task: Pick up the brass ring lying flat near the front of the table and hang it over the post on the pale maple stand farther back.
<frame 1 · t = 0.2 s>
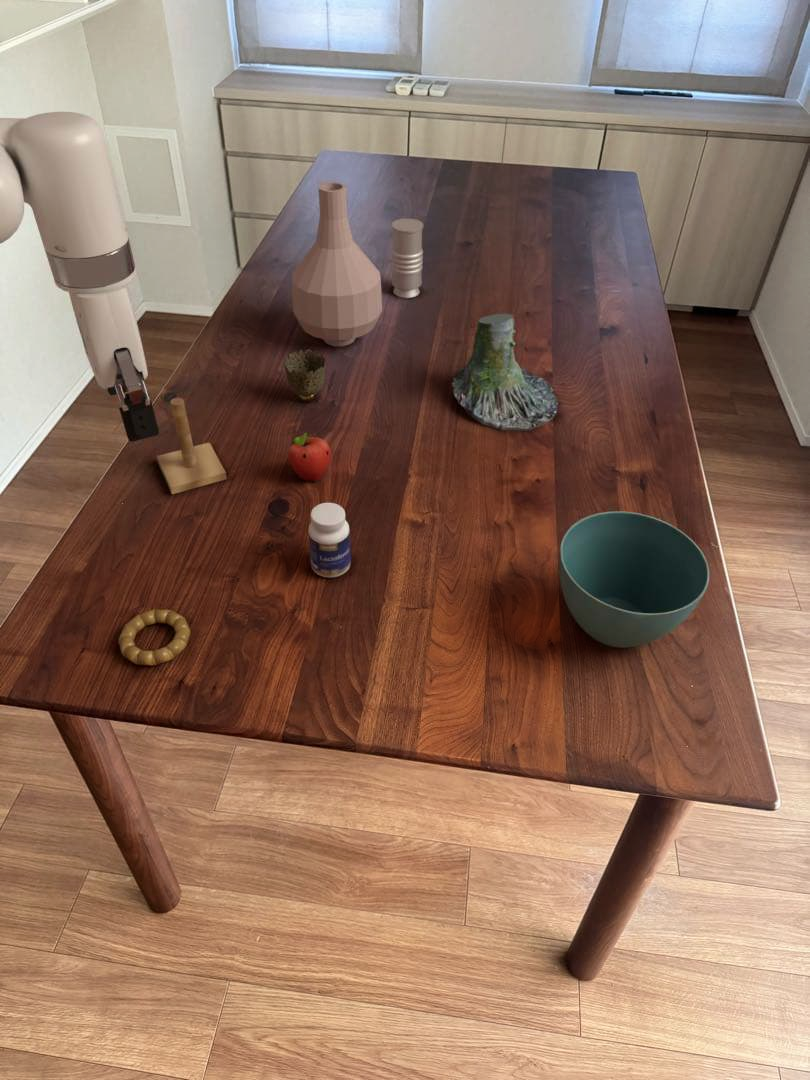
hand: (133, 413, 86), 31 cm above the table, tool pointing down, fingers open, 9 cm apart
tree stump: (501, 401, 146), on the table
post stand: (192, 471, 130), on the table
cup: (307, 399, 146), on the table
vase: (339, 339, 162), on the table
ribbed beige cylinder: (406, 292, 178), on the table
pill bottle: (331, 566, 114), on the table
ring: (154, 636, 103), point 1 cm above the table
apple: (311, 478, 129), on the table
teal bowl: (614, 624, 107), on the table
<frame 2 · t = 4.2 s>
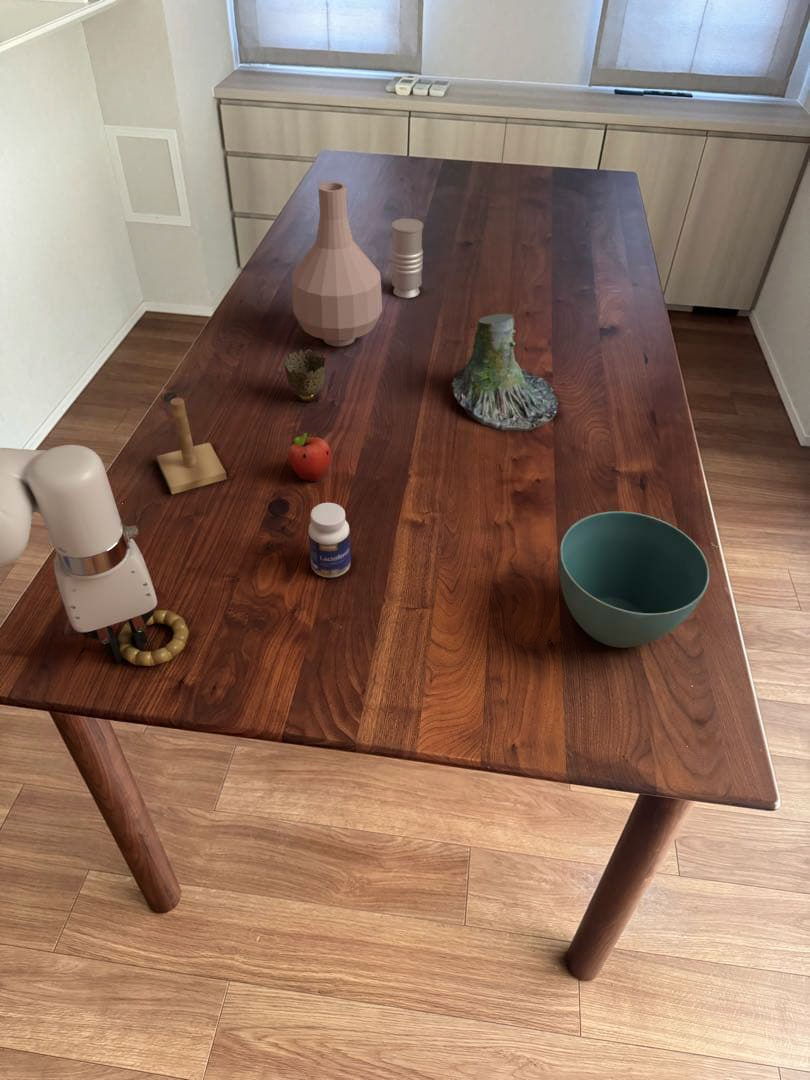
hand: (128, 649, 102), 0 cm above the table, tool pointing down, fingers closed on ring, 2 cm apart
ring: (153, 637, 103), point 1 cm above the table, touching gripper
everything else where it was.
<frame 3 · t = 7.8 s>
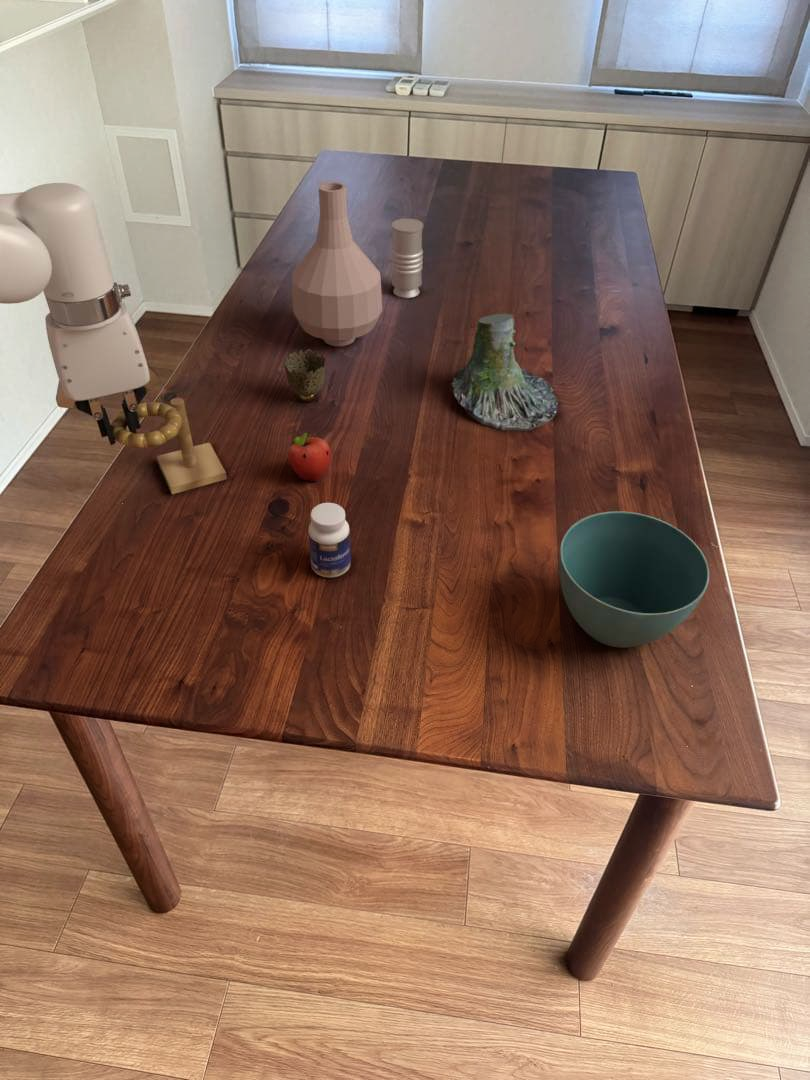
hand: (122, 435, 102), 20 cm above the table, tool pointing down, fingers closed on ring
ring: (146, 424, 103), point 21 cm above the table, touching gripper
everything else where it was.
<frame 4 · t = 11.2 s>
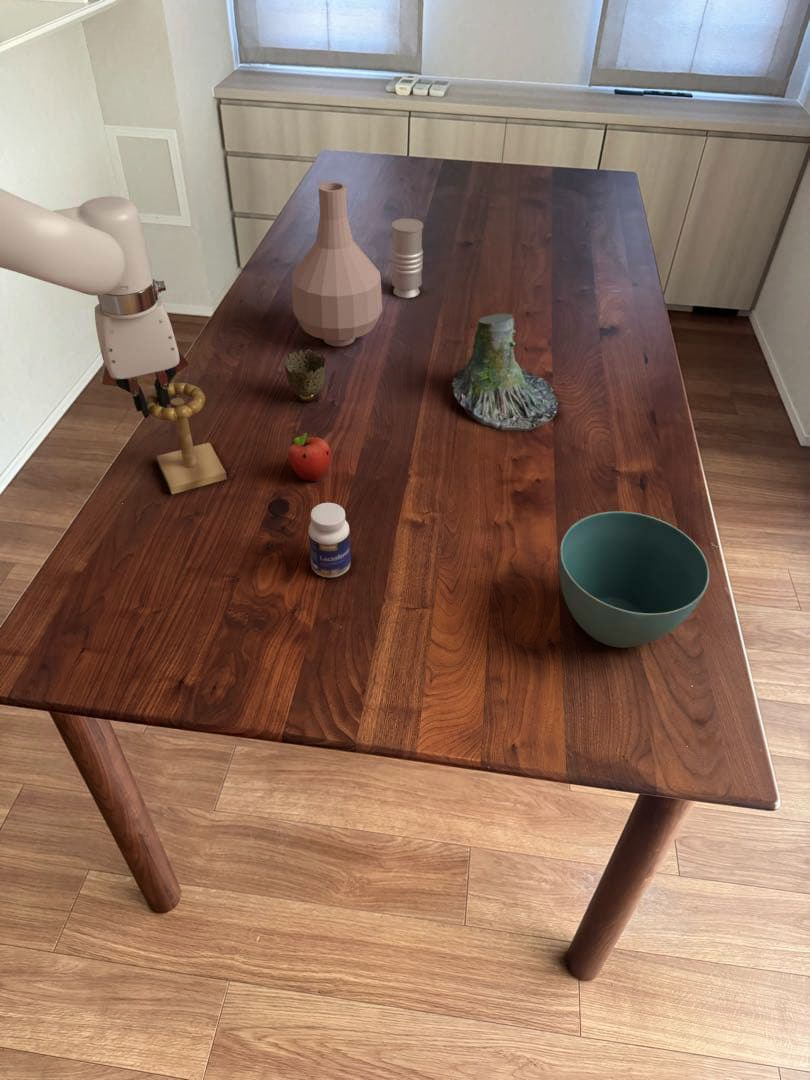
hand: (154, 410, 119), 13 cm above the table, tool pointing down, fingers closed on ring
ring: (174, 401, 120), point 14 cm above the table, touching gripper
everything else where it was.
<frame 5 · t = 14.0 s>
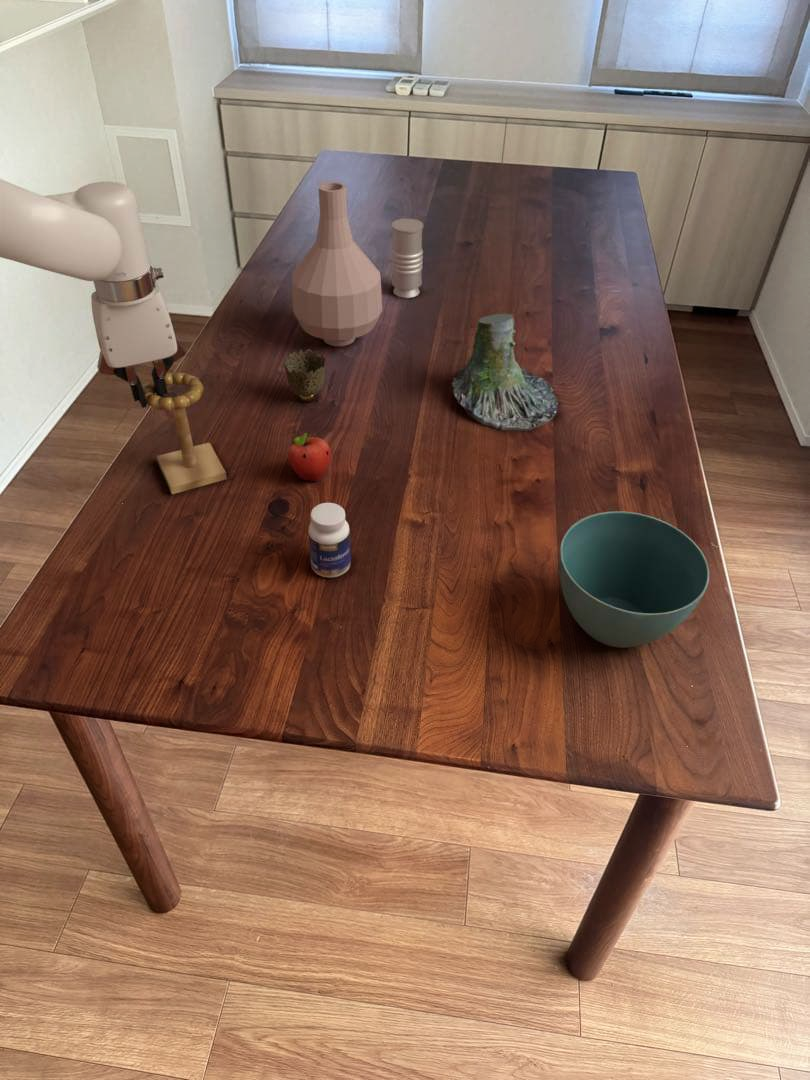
hand: (151, 399, 118), 15 cm above the table, tool pointing down, fingers closed on ring
ring: (172, 390, 119), point 15 cm above the table, touching gripper
everything else where it was.
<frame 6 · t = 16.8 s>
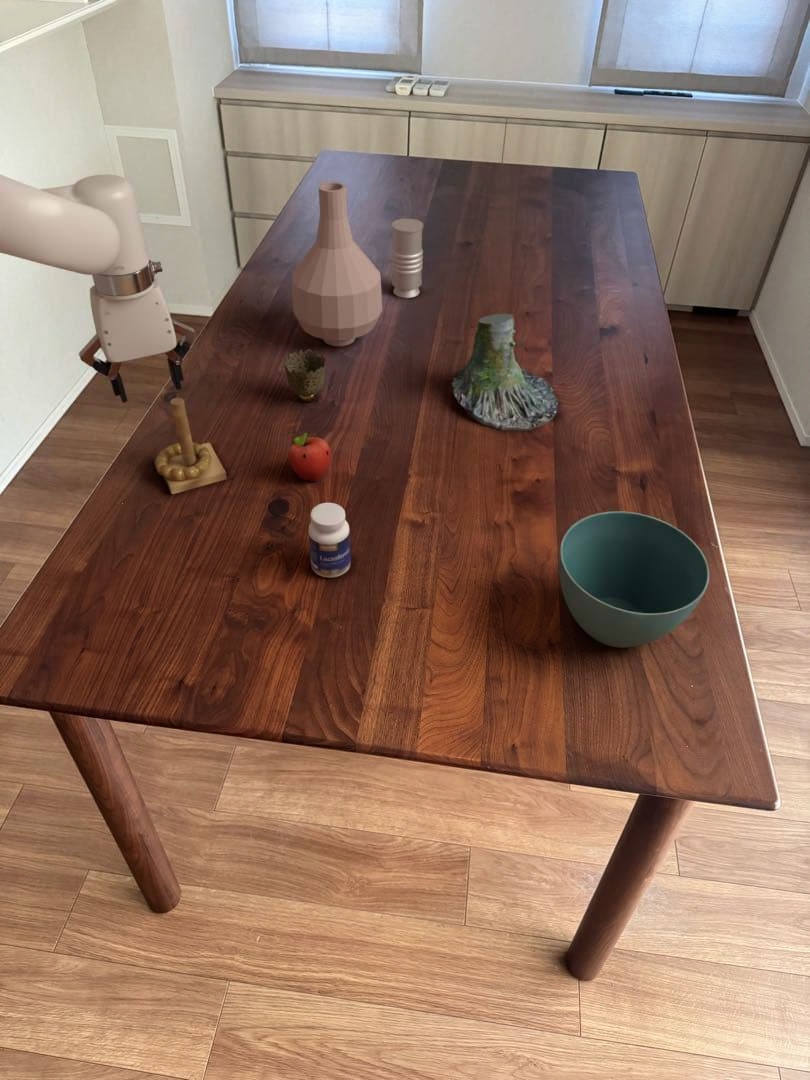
hand: (150, 390, 117), 16 cm above the table, tool pointing down, fingers open, 7 cm apart
ring: (183, 460, 128), point 2 cm above the table, touching post stand
everything else where it was.
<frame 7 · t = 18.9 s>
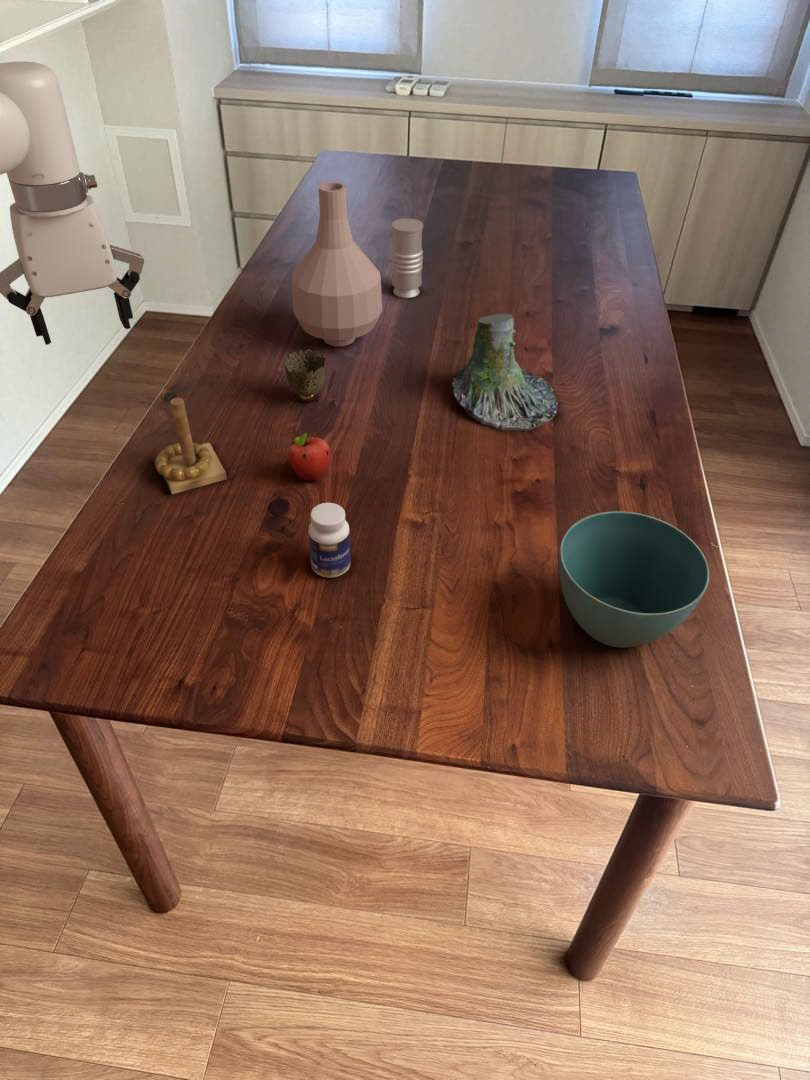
hand: (86, 332, 100), 31 cm above the table, tool pointing down, fingers open, 9 cm apart
nothing on the table moved.
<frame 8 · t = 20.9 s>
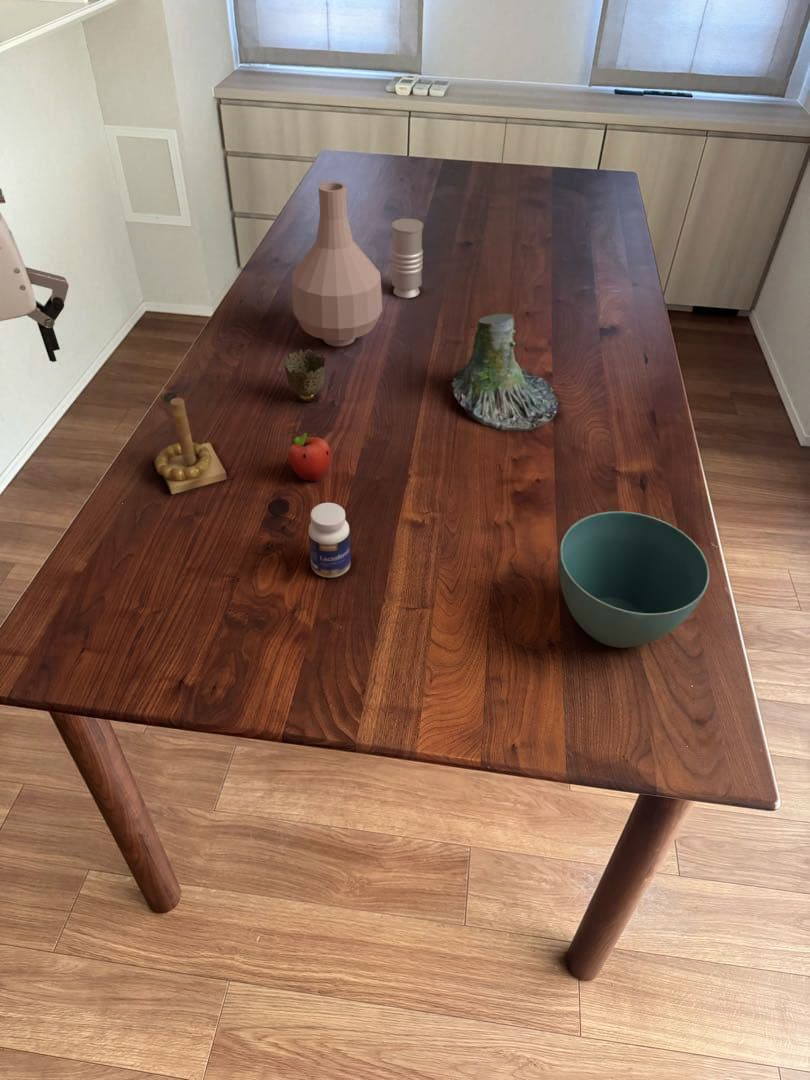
hand: (6, 365, 88), 34 cm above the table, tool pointing down, fingers open, 9 cm apart
nothing on the table moved.
at the end: ring 1.0 cm from the post stand (horizontally); ring point 2.4 cm above the table; the gripper is holding nothing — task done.
